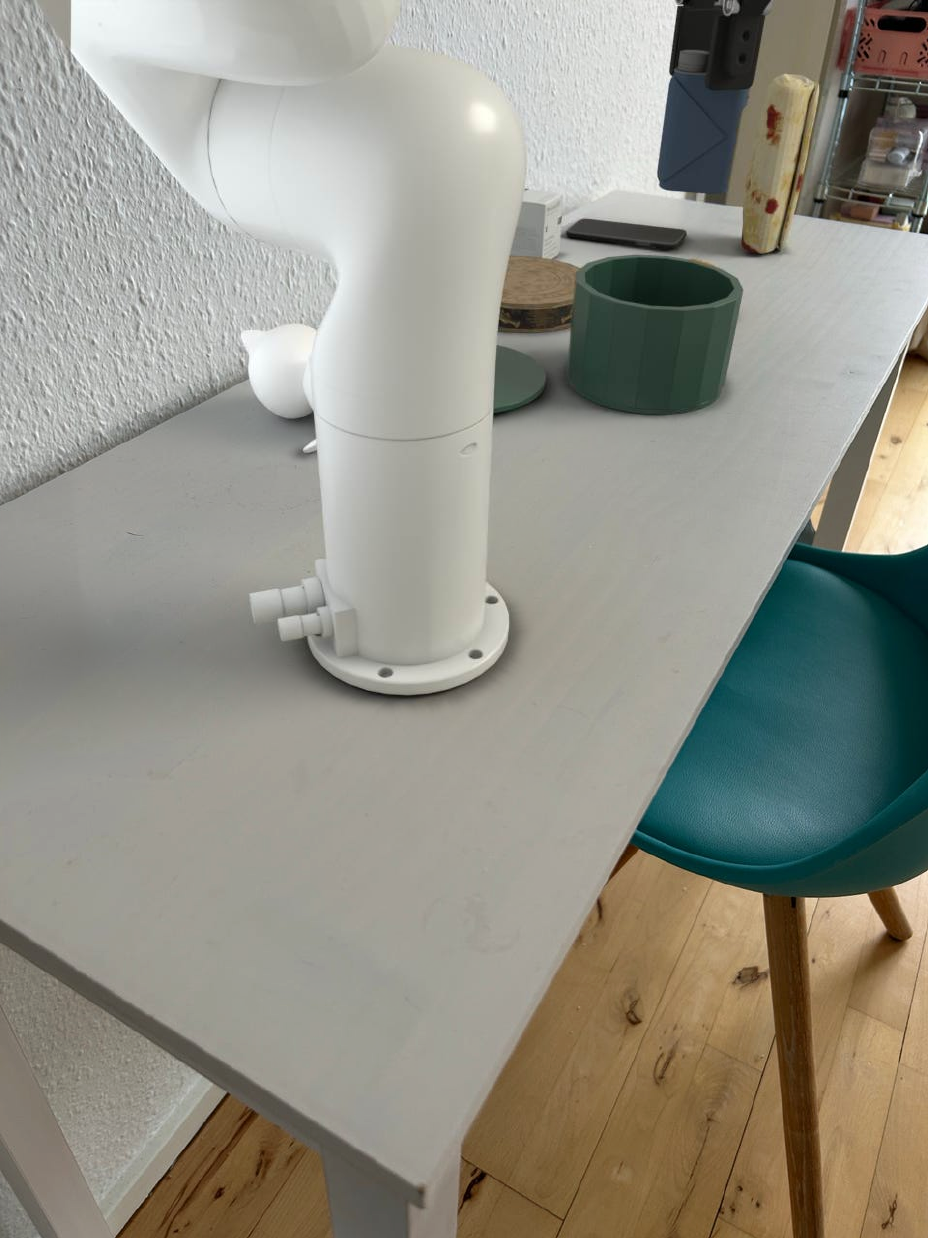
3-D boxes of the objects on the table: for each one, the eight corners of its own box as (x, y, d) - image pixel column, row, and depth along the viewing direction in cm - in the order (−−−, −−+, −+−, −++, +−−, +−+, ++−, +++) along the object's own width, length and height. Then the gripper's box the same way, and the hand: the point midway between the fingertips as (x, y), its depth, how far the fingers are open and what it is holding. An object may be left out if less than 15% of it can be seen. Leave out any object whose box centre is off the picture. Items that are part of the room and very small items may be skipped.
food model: (739, 235, 129) (772, 66, 117) (790, 242, 127) (828, 70, 115) (728, 256, 122) (761, 78, 109) (782, 263, 120) (822, 82, 107)
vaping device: (732, 196, 65) (770, -16, 57) (654, 190, 65) (681, -20, 58) (732, 186, 67) (769, -20, 59) (656, 180, 67) (683, -23, 60)
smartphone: (580, 216, 131) (688, 229, 127) (580, 224, 132) (687, 236, 127) (564, 231, 126) (676, 244, 121) (563, 238, 126) (675, 251, 122)
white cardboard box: (541, 267, 116) (546, 204, 112) (496, 260, 118) (499, 197, 114) (559, 254, 121) (564, 192, 116) (515, 247, 123) (519, 186, 118)
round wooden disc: (555, 343, 97) (557, 314, 96) (422, 313, 103) (421, 285, 102) (613, 297, 109) (617, 271, 107) (490, 273, 114) (491, 247, 113)
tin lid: (404, 431, 81) (403, 356, 77) (360, 361, 93) (357, 292, 89) (572, 408, 86) (579, 336, 81) (509, 344, 97) (513, 278, 93)
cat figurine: (379, 323, 75) (259, 290, 80) (316, 432, 73) (194, 392, 77) (409, 388, 83) (298, 355, 87) (353, 489, 81) (241, 450, 85)
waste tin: (607, 423, 83) (620, 316, 77) (543, 359, 94) (550, 261, 88) (752, 403, 87) (775, 300, 81) (674, 344, 98) (689, 249, 92)
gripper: (635, -294, 56) (602, 63, 67) (798, -338, 43) (724, 110, 55) (747, -287, 58) (697, 60, 69) (933, -327, 45) (835, 104, 57)
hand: (709, 78), depth 62 cm, fingers closed on vaping device, 4 cm apart
